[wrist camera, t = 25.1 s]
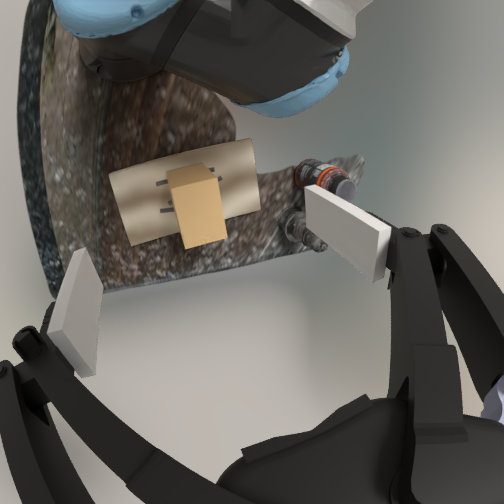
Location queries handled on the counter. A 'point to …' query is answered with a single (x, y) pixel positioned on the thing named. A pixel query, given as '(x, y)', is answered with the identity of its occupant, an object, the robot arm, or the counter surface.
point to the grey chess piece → (299, 229)
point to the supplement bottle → (325, 178)
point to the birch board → (158, 193)
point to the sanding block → (197, 204)
